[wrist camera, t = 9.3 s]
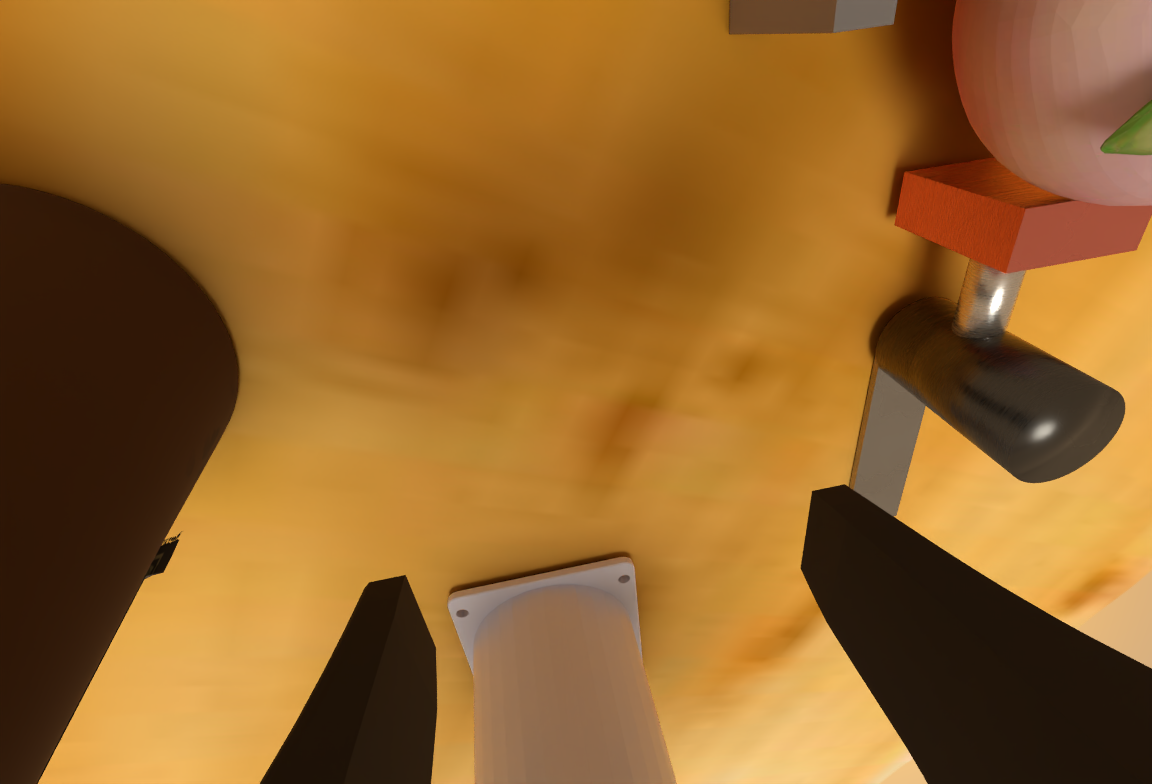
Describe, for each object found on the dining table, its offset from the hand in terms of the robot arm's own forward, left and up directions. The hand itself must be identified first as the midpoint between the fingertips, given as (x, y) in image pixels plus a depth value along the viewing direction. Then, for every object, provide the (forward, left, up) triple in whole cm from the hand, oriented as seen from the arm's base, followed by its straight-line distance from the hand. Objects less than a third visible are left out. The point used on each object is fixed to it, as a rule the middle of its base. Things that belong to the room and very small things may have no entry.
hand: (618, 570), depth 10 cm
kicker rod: (0, -13, -9) cm, 16 cm away
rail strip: (-8, -13, -10) cm, 18 cm away
